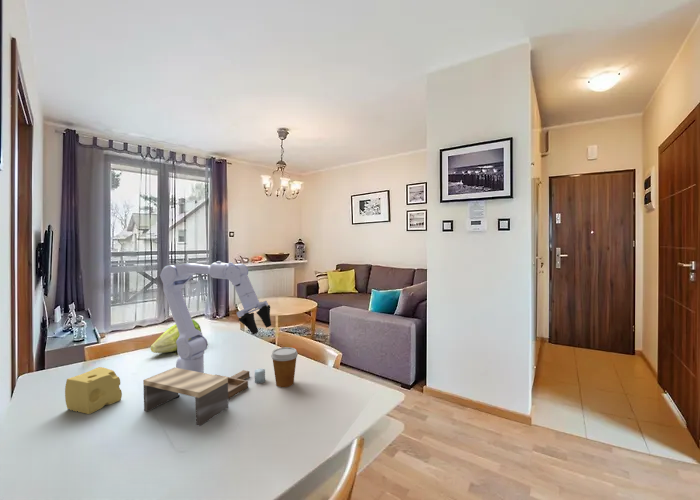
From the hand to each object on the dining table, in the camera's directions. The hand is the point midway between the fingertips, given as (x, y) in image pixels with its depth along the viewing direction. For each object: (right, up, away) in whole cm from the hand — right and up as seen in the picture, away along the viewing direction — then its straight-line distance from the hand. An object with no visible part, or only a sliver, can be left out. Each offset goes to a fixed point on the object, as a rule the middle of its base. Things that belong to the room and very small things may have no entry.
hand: (262, 329), depth 117 cm
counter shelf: (-20, -21, -15) cm, 32 cm away
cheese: (-51, -21, -11) cm, 56 cm away
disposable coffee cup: (+7, -21, +3) cm, 22 cm away
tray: (-13, -21, +2) cm, 24 cm away
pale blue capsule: (-2, -20, +6) cm, 21 cm away
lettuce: (-53, -20, +43) cm, 71 cm away
